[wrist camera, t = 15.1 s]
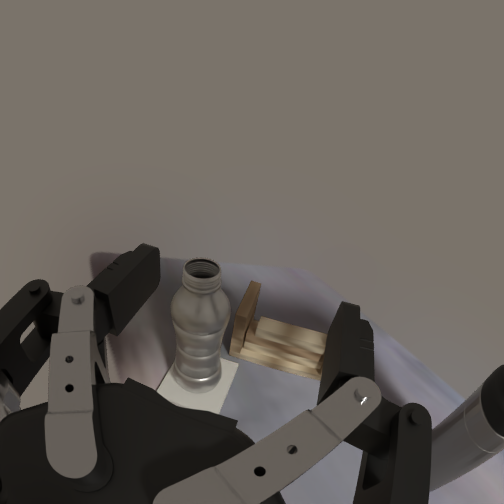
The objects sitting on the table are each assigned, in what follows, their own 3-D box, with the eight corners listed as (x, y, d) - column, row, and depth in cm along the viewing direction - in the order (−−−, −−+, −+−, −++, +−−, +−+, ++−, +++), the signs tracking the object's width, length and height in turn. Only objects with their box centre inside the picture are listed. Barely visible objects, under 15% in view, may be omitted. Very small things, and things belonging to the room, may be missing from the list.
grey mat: (238, 366, 43) (238, 363, 43) (216, 419, 35) (216, 418, 35) (183, 347, 45) (183, 344, 44) (155, 396, 36) (155, 394, 36)
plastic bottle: (181, 357, 42) (180, 244, 32) (225, 368, 42) (242, 257, 31) (167, 391, 37) (156, 279, 26) (215, 404, 37) (228, 297, 26)
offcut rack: (331, 345, 49) (350, 307, 44) (327, 382, 43) (349, 345, 38) (243, 321, 52) (251, 280, 47) (229, 354, 45) (235, 314, 40)
